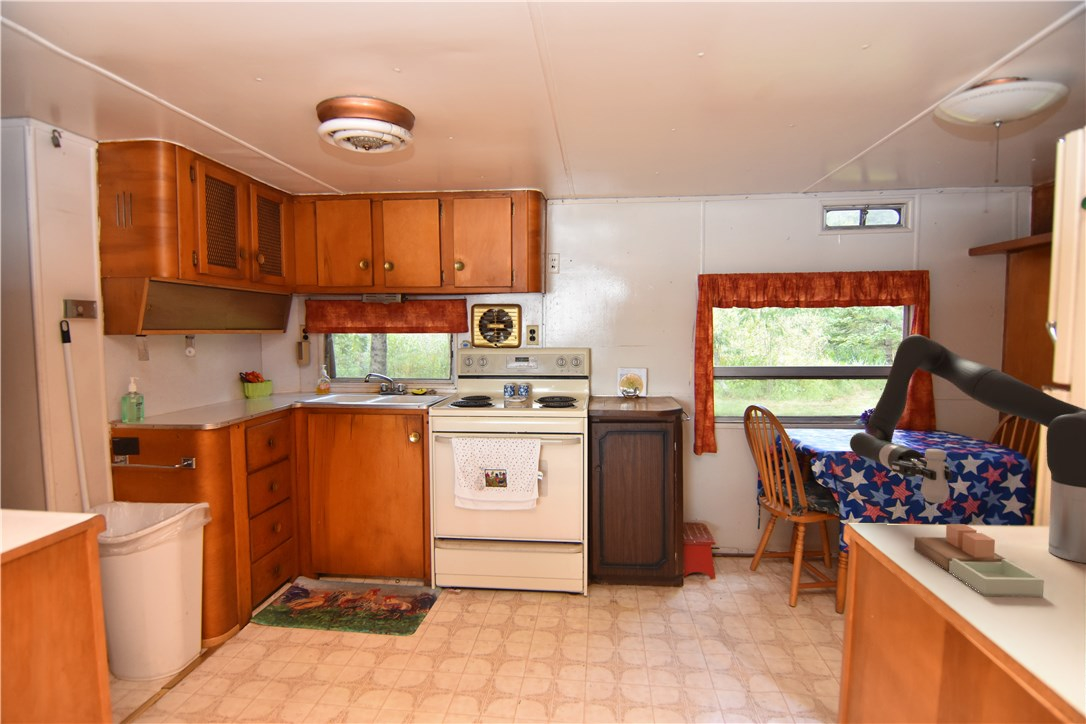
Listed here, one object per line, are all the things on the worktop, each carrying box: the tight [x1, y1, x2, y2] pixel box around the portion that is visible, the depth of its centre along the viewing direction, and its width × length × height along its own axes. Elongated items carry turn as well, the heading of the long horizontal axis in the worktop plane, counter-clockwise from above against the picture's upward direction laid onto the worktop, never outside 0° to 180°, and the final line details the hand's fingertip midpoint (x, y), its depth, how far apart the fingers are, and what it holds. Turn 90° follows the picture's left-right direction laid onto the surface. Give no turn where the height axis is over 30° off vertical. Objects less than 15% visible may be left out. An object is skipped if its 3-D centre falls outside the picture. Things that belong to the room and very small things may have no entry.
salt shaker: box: [920, 448, 951, 504], centre depth 135 cm, size 6×6×13 cm
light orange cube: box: [945, 523, 978, 547], centre depth 126 cm, size 4×4×4 cm
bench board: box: [913, 536, 1006, 572], centre depth 124 cm, size 12×12×3 cm
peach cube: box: [962, 532, 996, 558], centre depth 121 cm, size 4×4×4 cm
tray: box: [948, 558, 1045, 598], centre depth 113 cm, size 11×10×4 cm
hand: (942, 476), depth 132 cm, fingers closed on salt shaker, 3 cm apart
